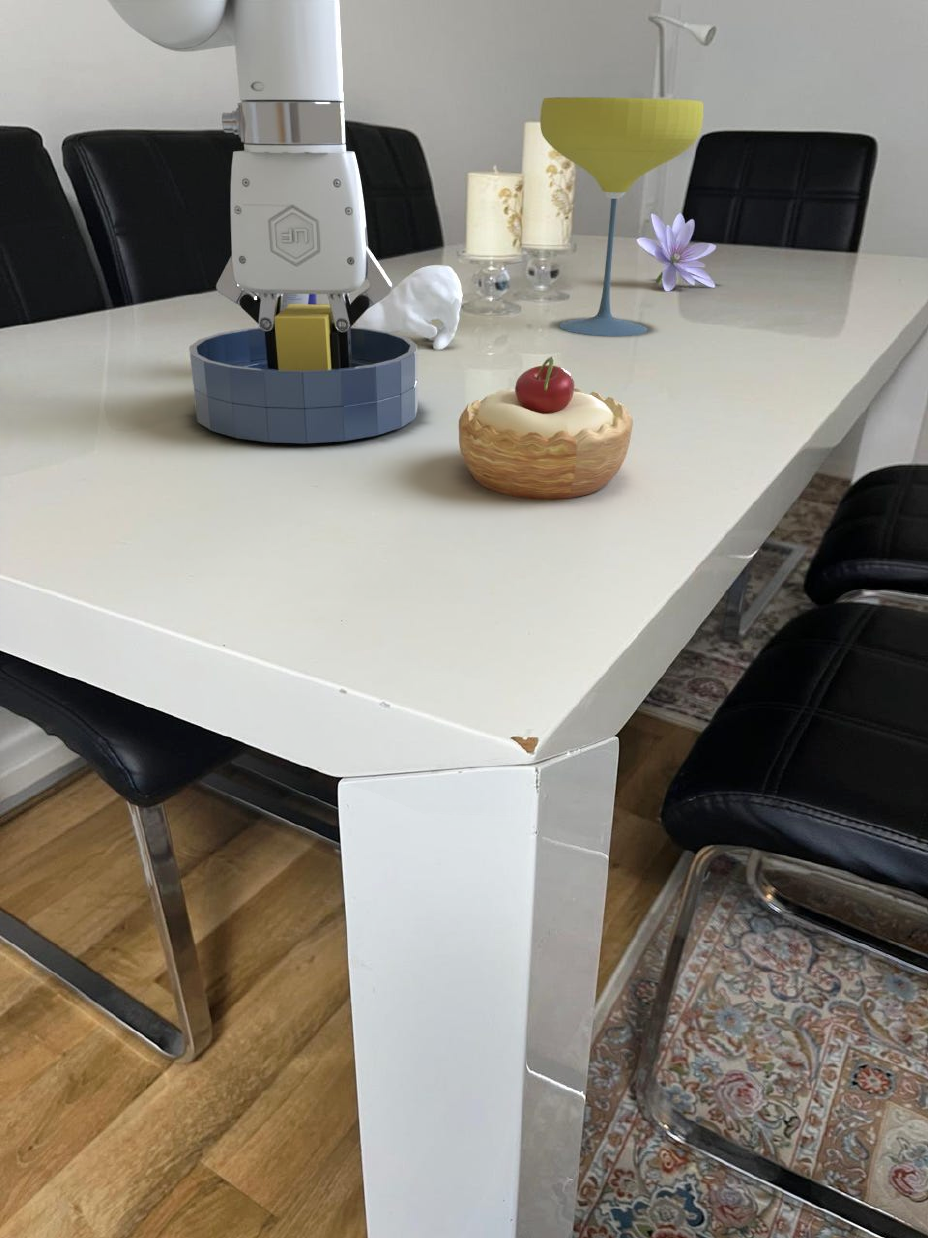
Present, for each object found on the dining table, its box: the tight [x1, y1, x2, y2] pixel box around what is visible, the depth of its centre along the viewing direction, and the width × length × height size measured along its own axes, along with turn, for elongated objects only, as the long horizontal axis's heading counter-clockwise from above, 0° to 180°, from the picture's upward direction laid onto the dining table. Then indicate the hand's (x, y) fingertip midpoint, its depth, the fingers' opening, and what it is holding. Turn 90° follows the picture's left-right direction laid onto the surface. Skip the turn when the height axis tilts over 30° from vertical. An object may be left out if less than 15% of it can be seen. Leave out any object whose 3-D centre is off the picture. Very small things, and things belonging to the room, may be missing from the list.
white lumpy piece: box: [354, 264, 464, 351], centre depth 106 cm, size 6×8×12 cm
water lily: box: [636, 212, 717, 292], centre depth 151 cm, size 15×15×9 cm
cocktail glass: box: [539, 96, 704, 337], centre depth 113 cm, size 18×18×25 cm
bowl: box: [188, 326, 419, 444], centre depth 80 cm, size 18×18×6 cm
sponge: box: [274, 304, 334, 370], centre depth 78 cm, size 4×6×6 cm, turn 178°
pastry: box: [458, 356, 634, 500], centre depth 66 cm, size 12×12×9 cm
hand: (310, 375), depth 80 cm, fingers closed on sponge, 4 cm apart
